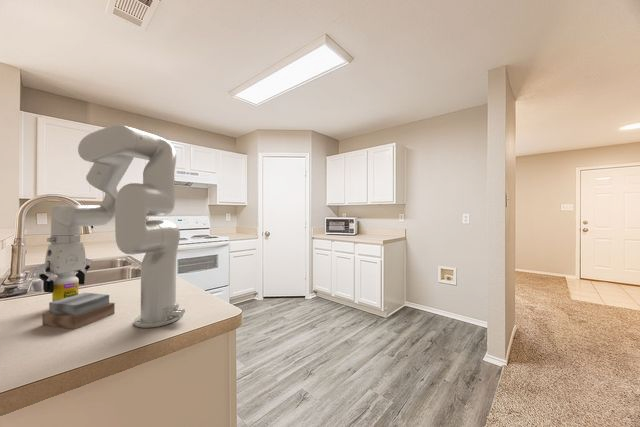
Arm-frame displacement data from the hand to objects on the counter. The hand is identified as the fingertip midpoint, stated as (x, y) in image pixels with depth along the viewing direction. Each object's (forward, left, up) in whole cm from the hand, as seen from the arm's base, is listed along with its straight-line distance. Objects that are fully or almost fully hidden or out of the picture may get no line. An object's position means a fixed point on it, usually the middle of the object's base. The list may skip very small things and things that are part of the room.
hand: (65, 287), depth 93 cm
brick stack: (-16, +7, -7) cm, 19 cm away
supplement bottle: (0, 0, -7) cm, 7 cm away
